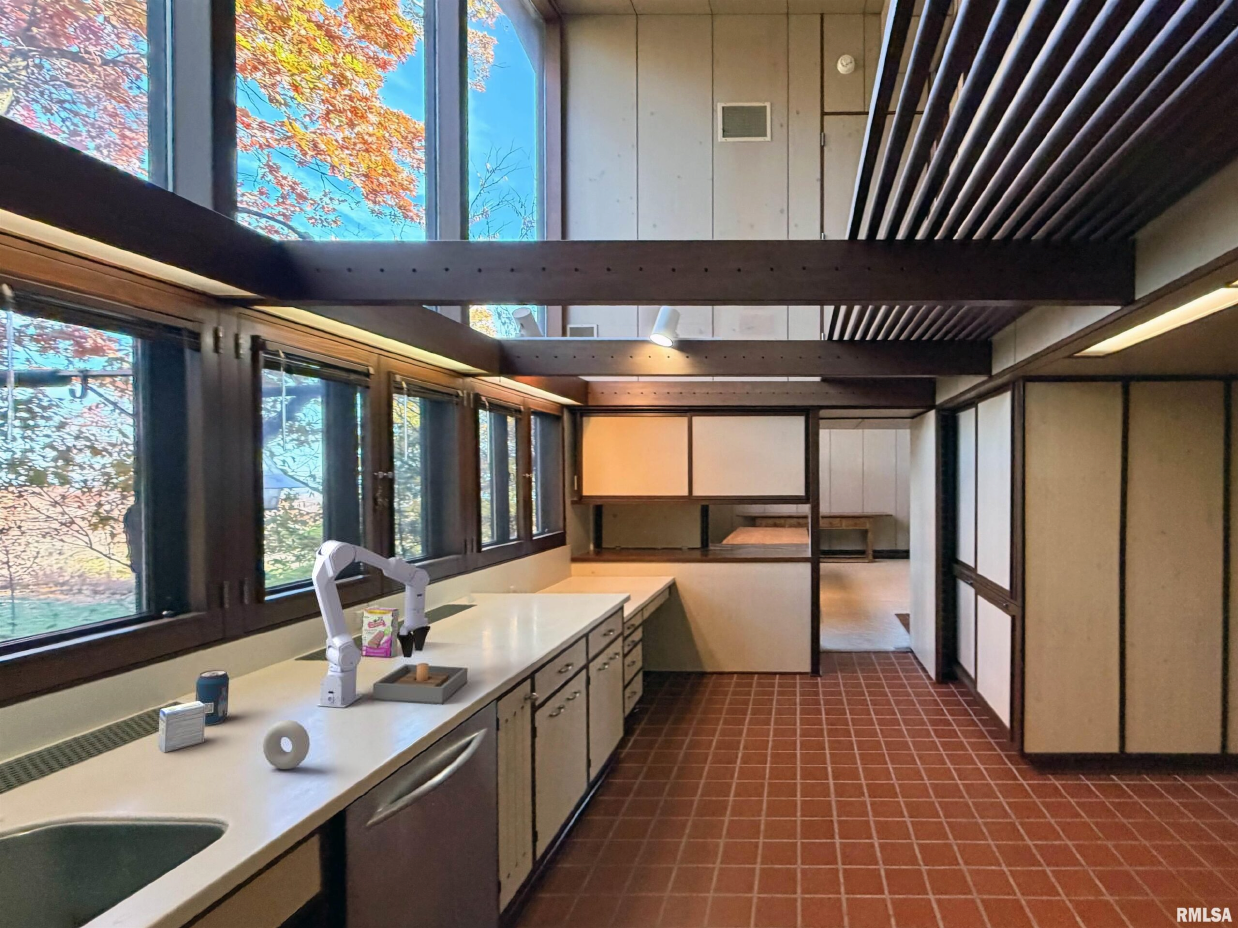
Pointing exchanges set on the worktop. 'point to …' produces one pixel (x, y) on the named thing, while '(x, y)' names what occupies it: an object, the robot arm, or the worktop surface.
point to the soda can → (213, 695)
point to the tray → (416, 693)
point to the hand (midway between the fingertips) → (413, 653)
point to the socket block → (433, 680)
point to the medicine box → (181, 726)
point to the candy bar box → (379, 632)
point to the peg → (422, 672)
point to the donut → (275, 750)
